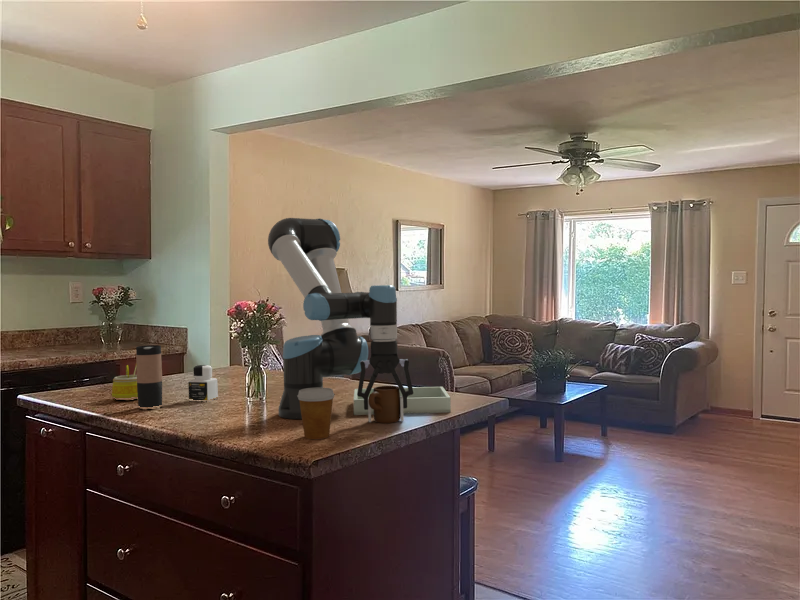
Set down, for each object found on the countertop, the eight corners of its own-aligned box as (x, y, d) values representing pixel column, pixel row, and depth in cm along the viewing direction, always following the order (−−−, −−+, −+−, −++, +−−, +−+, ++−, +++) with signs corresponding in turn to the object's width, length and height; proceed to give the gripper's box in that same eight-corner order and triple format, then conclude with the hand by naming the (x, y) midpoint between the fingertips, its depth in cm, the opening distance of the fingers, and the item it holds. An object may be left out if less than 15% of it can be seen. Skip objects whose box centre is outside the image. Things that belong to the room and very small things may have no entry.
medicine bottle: (188, 401, 220) (187, 366, 220) (199, 398, 227) (198, 363, 227) (207, 402, 218) (206, 366, 218) (218, 398, 225) (217, 364, 225)
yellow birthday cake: (134, 402, 221) (133, 367, 221) (105, 402, 223) (104, 367, 223) (154, 395, 234) (153, 362, 234) (126, 395, 236) (125, 362, 235)
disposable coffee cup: (340, 433, 171) (339, 387, 170) (327, 441, 161) (326, 393, 161) (306, 431, 173) (305, 386, 173) (292, 440, 164) (291, 392, 163)
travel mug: (152, 405, 215) (150, 344, 215) (168, 407, 211) (166, 345, 211) (132, 409, 209) (130, 347, 208) (148, 411, 205) (146, 347, 204)
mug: (381, 427, 176) (380, 393, 176) (359, 424, 180) (358, 391, 180) (405, 419, 186) (404, 386, 186) (383, 416, 190) (383, 384, 190)
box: (353, 414, 194) (353, 399, 193) (355, 402, 214) (354, 388, 213) (450, 412, 195) (450, 397, 195) (442, 400, 215) (442, 386, 215)
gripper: (345, 342, 178) (347, 424, 179) (422, 340, 179) (424, 422, 180) (346, 340, 186) (348, 419, 186) (420, 337, 187) (422, 416, 187)
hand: (385, 420), depth 183 cm, fingers closed on mug, 8 cm apart
